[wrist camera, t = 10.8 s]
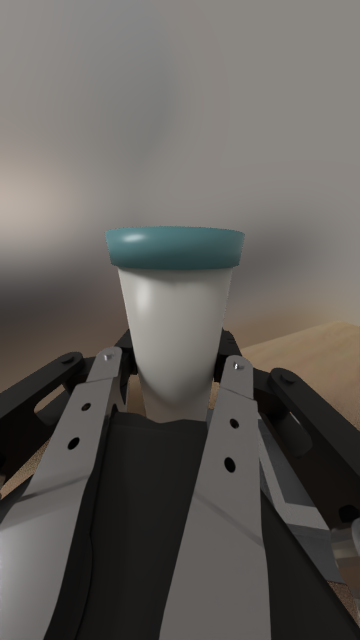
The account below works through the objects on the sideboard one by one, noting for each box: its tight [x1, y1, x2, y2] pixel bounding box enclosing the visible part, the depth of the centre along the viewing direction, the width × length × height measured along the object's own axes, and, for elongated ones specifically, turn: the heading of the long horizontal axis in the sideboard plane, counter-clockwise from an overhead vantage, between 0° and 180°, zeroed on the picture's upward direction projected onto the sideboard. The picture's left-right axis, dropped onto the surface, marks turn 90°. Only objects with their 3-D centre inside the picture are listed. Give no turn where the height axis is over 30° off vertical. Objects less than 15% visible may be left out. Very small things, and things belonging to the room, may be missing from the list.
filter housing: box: [146, 409, 347, 585], centre depth 16 cm, size 24×12×6 cm, turn 84°
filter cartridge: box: [105, 226, 245, 423], centre depth 9 cm, size 5×5×16 cm
